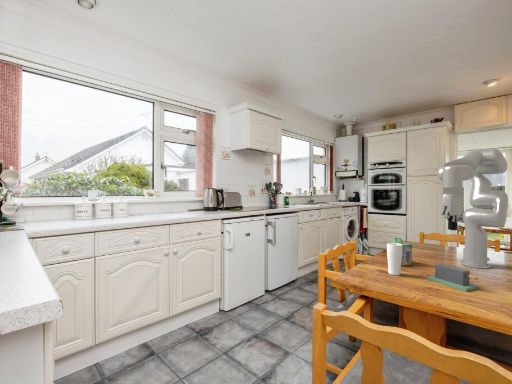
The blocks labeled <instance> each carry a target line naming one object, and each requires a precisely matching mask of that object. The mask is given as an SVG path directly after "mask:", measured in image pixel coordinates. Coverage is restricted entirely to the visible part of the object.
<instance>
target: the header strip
mask: <svg viewBox="0 0 512 384" xmlns="http://www.w3.org/2000/svg"><path fill="white" fill-rule="evenodd" d="M426 280H429V281H431V282H435V283H438V284H441V285H444V286H447V287H450V288H454V289H457V290H459V291H463V292H470V291H474V290H478V289H479V288H480V286H479V285H477V284H474V283H471V282H470V285H466V286H461V285H458V284H455V283H451V282H448V281H445V280H442V279H438V278H435V274H434V275H429V276H426Z"/></svg>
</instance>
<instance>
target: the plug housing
mask: <svg viewBox="0 0 512 384" xmlns="http://www.w3.org/2000/svg"><path fill="white" fill-rule="evenodd" d="M434 275H435V278H438V279H442V280H445V281H448V282H451V283H455V284H458V285H461V286H466V285H470V283H471V282H470V280H474V281H479V277H477V276H474V275H473V276H472V275H471V271H470V270H469V269H465V268H462V267H461V268H460V267H457V266H452V265H449V264H445V263H437V264H436V263H435V264H434Z"/></svg>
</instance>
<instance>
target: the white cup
mask: <svg viewBox="0 0 512 384" xmlns="http://www.w3.org/2000/svg"><path fill="white" fill-rule="evenodd" d="M386 259H388V262H387V272H388V274H389V275H391V276H397V277H398V276H400V275H401V269H402V268H401V267H402V266H401V261H402V244H399V243H388V242H387V243H386Z"/></svg>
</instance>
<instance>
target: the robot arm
mask: <svg viewBox="0 0 512 384" xmlns="http://www.w3.org/2000/svg"><path fill="white" fill-rule="evenodd" d="M508 165H509V164H508V160H507V159H506V158H505V156H504V155H503V153H502V151H501V150H499V149H497V148H483V149H474V150H471V151H469V152H467V153H466V154H465V155H464V156H462V157H460V158H457V159H453V160H450V161H447V162H444V163H443V164H442V165H441V166H440V167H439V168H438V171H437V178H438V179H439V180H441V181H442V196H441V200H440V201H441V203H440V214H441V215H442V216H443V217H444V219H446V220H447V230H450V231H458V221H459V218H461V215H462V218H463V222H464V260H461V262H460V263H461V265H464V266H466V267H469V268H470V267H471V268H475V269H483V270H485V269H491V267H492V265H491V264H490V263H488V262H489V261H490V260H491V259H490V257H488V233H487V231H486V230H485V229H484V227H485V228H486V227H487V228H499V229H500V228H502V227H505V225H506V222H507V214H508V209H509V196H508V194H507V193H506V192H505V191H502V190H492V185H493V183H492V182H491V181H490V179H488V178H487V176H485V175H499V174H504V173H506V172H507V171H508ZM465 181H471V188H470V189H471V190H470V194H469V195H470V196H469V205H470V206H472V207H473V208H467V209H465V210H464V200H463V192H464V191H463V189H464V188H463V185H464V184H463V183H464V182H465ZM474 207H475V208H474Z"/></svg>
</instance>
